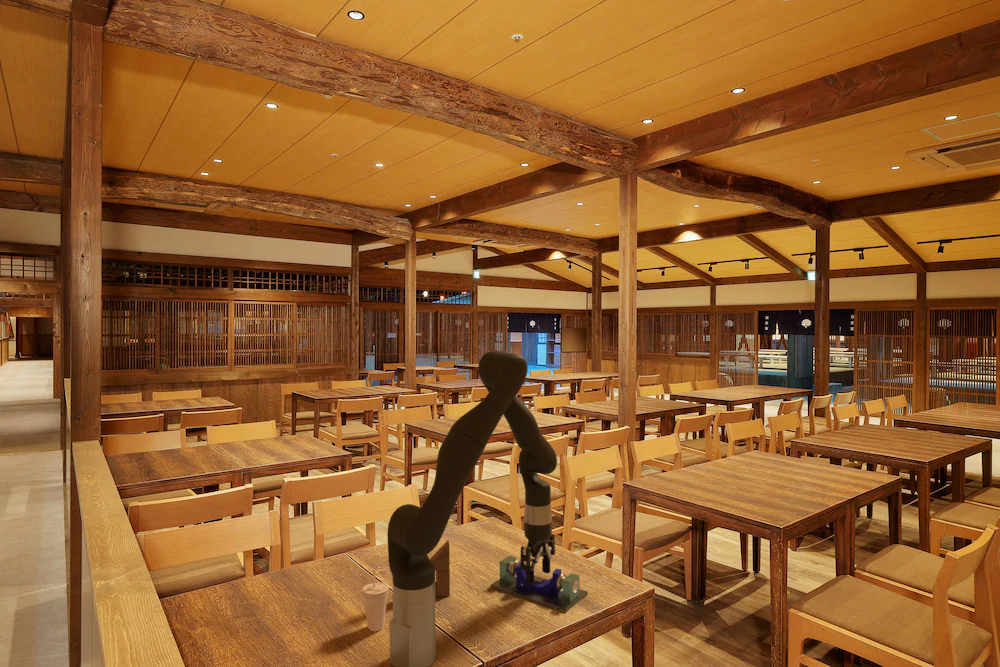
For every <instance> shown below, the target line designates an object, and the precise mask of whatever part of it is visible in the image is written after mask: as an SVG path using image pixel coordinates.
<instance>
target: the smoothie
mask: <svg viewBox="0 0 1000 667" xmlns="http://www.w3.org/2000/svg"><path fill="white" fill-rule="evenodd" d="M361 592H362V593H361V594H362V597H363V600H364V608H365V615H366V622H367V629H369V630H370V631H369V630H368V631H369V632H371V631H373V632H372V633H377V632H380V631H382V630H383V629H384V627H385V619H386V618H385V617H386V612H387V611H386V609H387V602H388V601H387V600H388V595H389V592H390V587H389V585H388V584H387V583H385V582H380V581H378V582H376V569H375V568H373V569H372V582H371V583H368V584H366V585H364V586H363V587H362V591H361ZM379 630H380V631H379ZM376 631H377V632H376Z"/></svg>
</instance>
